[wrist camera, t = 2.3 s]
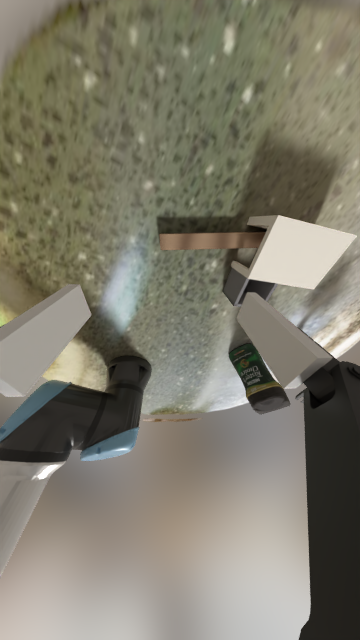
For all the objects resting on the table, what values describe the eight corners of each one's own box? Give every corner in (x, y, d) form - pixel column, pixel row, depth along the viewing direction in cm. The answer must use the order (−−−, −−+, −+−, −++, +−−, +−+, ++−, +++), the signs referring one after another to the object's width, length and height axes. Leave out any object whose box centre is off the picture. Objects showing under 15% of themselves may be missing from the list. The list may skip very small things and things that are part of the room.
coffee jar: (249, 339, 45) (290, 398, 30) (258, 350, 48) (297, 407, 34) (224, 353, 48) (249, 412, 33) (234, 362, 52) (260, 419, 37)
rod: (161, 248, 27) (160, 250, 25) (160, 233, 25) (159, 234, 23) (266, 245, 28) (273, 247, 26) (270, 231, 27) (279, 231, 25)
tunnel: (221, 291, 33) (233, 308, 27) (249, 216, 25) (278, 215, 18) (270, 298, 35) (292, 315, 29) (312, 232, 27) (357, 235, 20)
